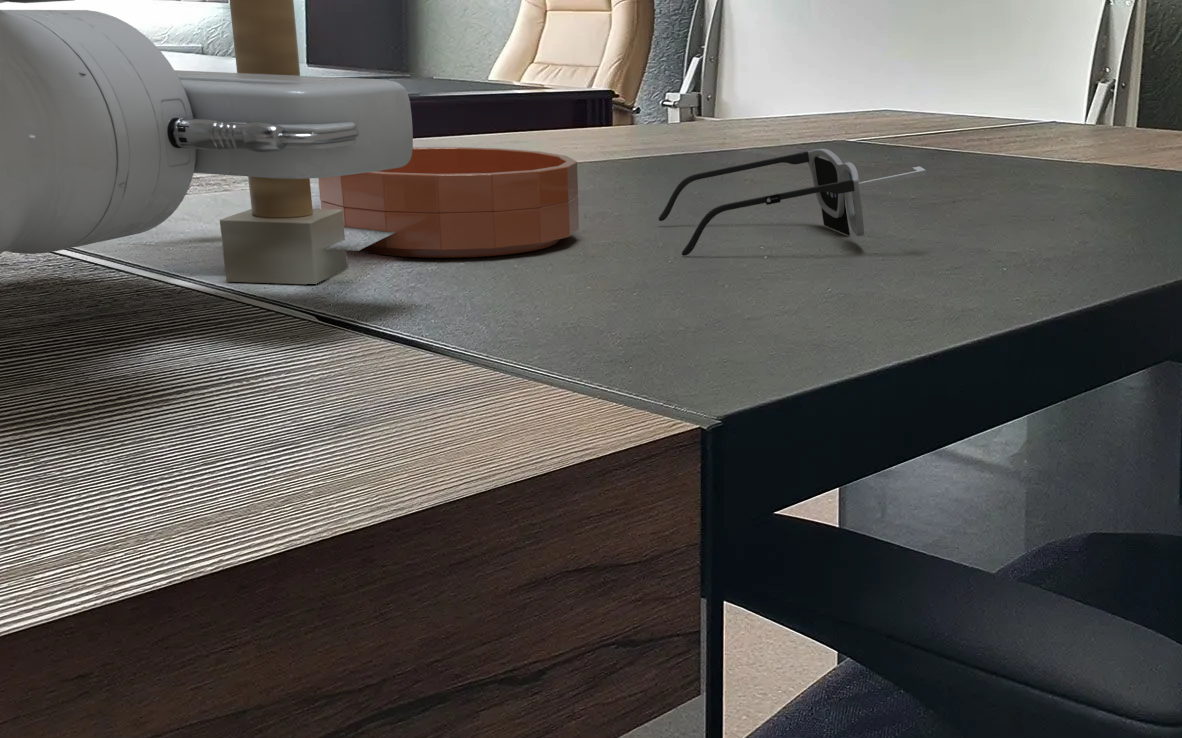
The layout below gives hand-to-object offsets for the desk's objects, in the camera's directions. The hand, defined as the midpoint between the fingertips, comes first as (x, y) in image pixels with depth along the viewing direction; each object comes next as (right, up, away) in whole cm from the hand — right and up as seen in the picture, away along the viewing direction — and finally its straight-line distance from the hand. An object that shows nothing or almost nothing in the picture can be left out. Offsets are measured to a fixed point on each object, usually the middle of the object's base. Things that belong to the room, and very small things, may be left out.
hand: (281, 106), depth 67 cm
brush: (0, -8, +2) cm, 8 cm away
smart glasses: (+24, -4, +16) cm, 29 cm away
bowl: (+5, -4, +13) cm, 15 cm away
